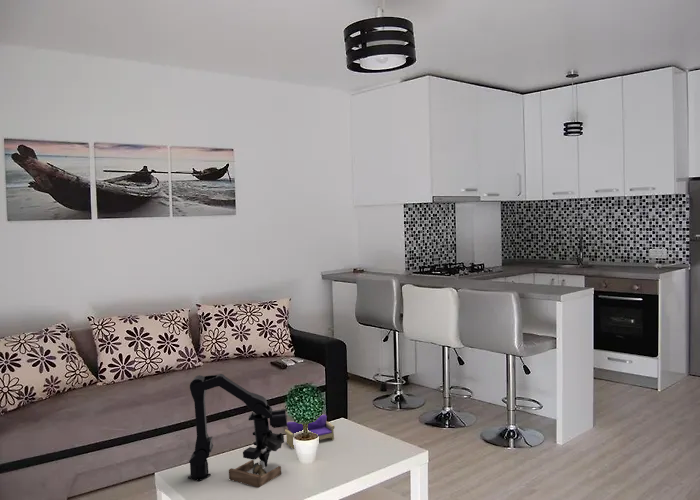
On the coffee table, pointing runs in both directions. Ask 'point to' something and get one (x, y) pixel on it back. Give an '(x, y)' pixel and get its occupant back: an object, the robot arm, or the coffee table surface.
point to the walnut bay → (252, 475)
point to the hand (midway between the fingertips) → (265, 466)
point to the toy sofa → (311, 429)
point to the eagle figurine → (258, 468)
